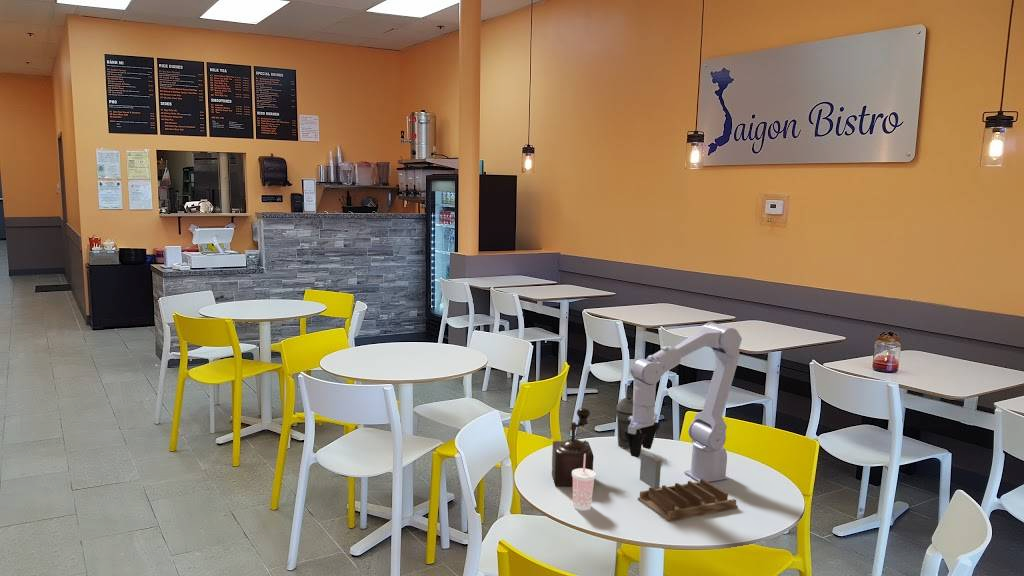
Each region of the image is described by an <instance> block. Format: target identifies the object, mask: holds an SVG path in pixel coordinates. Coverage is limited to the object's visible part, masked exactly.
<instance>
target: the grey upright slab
mask: <svg viewBox="0 0 1024 576" xmlns="http://www.w3.org/2000/svg"><path fill="white" fill-rule="evenodd" d="M639 467H640V469H639V480H640V481H641V482H643V483H644V484H645V485H647V486H648V487H649V488H651V487H652V488H653V489H658V488H660V482H661V470H662V460H661V459H659V458H658V457H656V456H655V455H652V454H651V453H649V452H648V451H642V452H640V466H639Z"/></svg>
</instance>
